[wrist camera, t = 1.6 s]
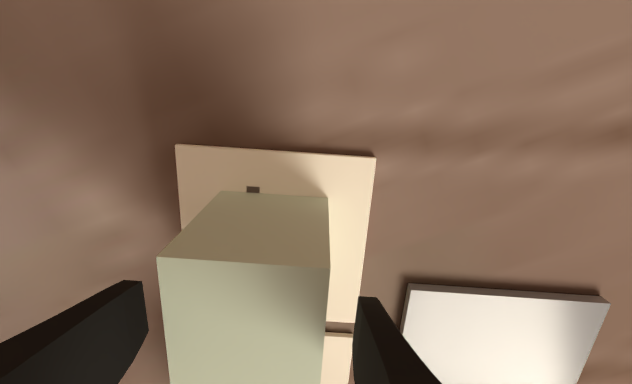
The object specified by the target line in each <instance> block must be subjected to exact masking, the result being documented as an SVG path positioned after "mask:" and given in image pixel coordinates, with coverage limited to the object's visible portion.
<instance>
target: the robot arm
mask: <svg viewBox="0 0 632 384" xmlns="http://www.w3.org/2000/svg"><path fill="white" fill-rule="evenodd" d="M148 331H149V329H148V322H147V314H146V307H145V300H144V292H143V285H142V281H130V280H123V281H121V282H119V283H116V284H114V285H112V286H110V287H108V288H106V289H105V290H103V291H101V292H99V293H97V294H95V295H93V296H91V297H89V298H88V299H86V300H84V301H82V302H80V303H78V304H76V305H75V306H73V307H71V308H69V309H67V310H65V311H63V312H61V313H60V314H58V315H56V316H54V317H52V318H50V319H48V320H46V321H44V322H42V323H40V324H38V325H36V326H34V327H32V328H30V329H28V330H26V331H24V332H22V333H20V334H18V335H16V336H14V337H12V338H10V339H8V340H6V341H4V342H2V343H0V384H118V383H119V382H120V380H121V379H122V377H123V376H124V374H125V373H126V371H127V370H128V368H129V367H130V365H131V364H132V362H133V360H134V359H135V357H136V355H137V353H138V351H139V349H140V348H141V346H142V344H143V342H144V339H145V337H146V335H147V333H148ZM352 353H353V371H354V381H355V384H442V383H441V382H440V381H439V380H438V379H437V378H436V376H435V375H434V374H433V373H432V372H431V371H430V369H429V368H428V367H427V366H426V365H425V363H424V362H423V361H422V360H421V359H420V357H419V356H418V355H417V353H416V352H415V351H414V350H413V348H412V347H411V346H410V344H409V343H408V342H407V340H406V339H405V338H404V336H403V335H402V334H401V332H400V331H399V329H398V328H397V327H396V325H395V324H394V322H393V321H392V319H391V318H390V316H389V315H388V313H387V312H386V310H385V309H384V307H383V306H382V304H381V302H380V301H379V300H378V299H377V298H376V297H362V296H358V302H357V310H356V318H355V326H354V334H353V342H352Z"/></svg>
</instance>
